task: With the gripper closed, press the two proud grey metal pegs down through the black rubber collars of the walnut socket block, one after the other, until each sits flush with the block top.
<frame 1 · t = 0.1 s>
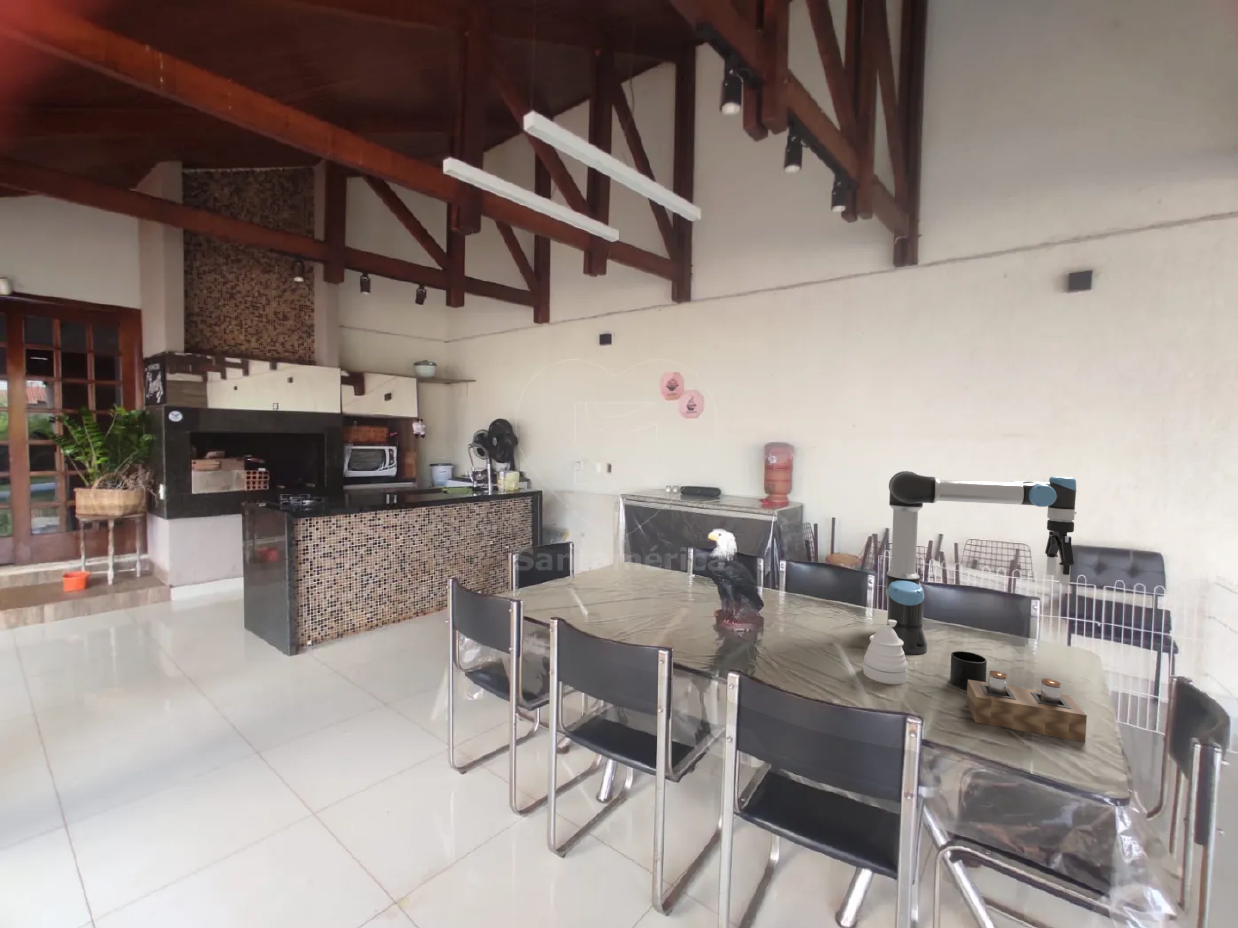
hand: (1057, 579, 196), 28 cm above the table, fingers open, 13 cm apart
mug: (965, 686, 172), on the table
socket block: (1021, 720, 151), on the table
peg b: (997, 685, 152), point 9 cm above the table, slide at 5.0 cm
peg a: (1050, 694, 148), point 9 cm above the table, slide at 5.0 cm
honey pot: (884, 675, 179), on the table
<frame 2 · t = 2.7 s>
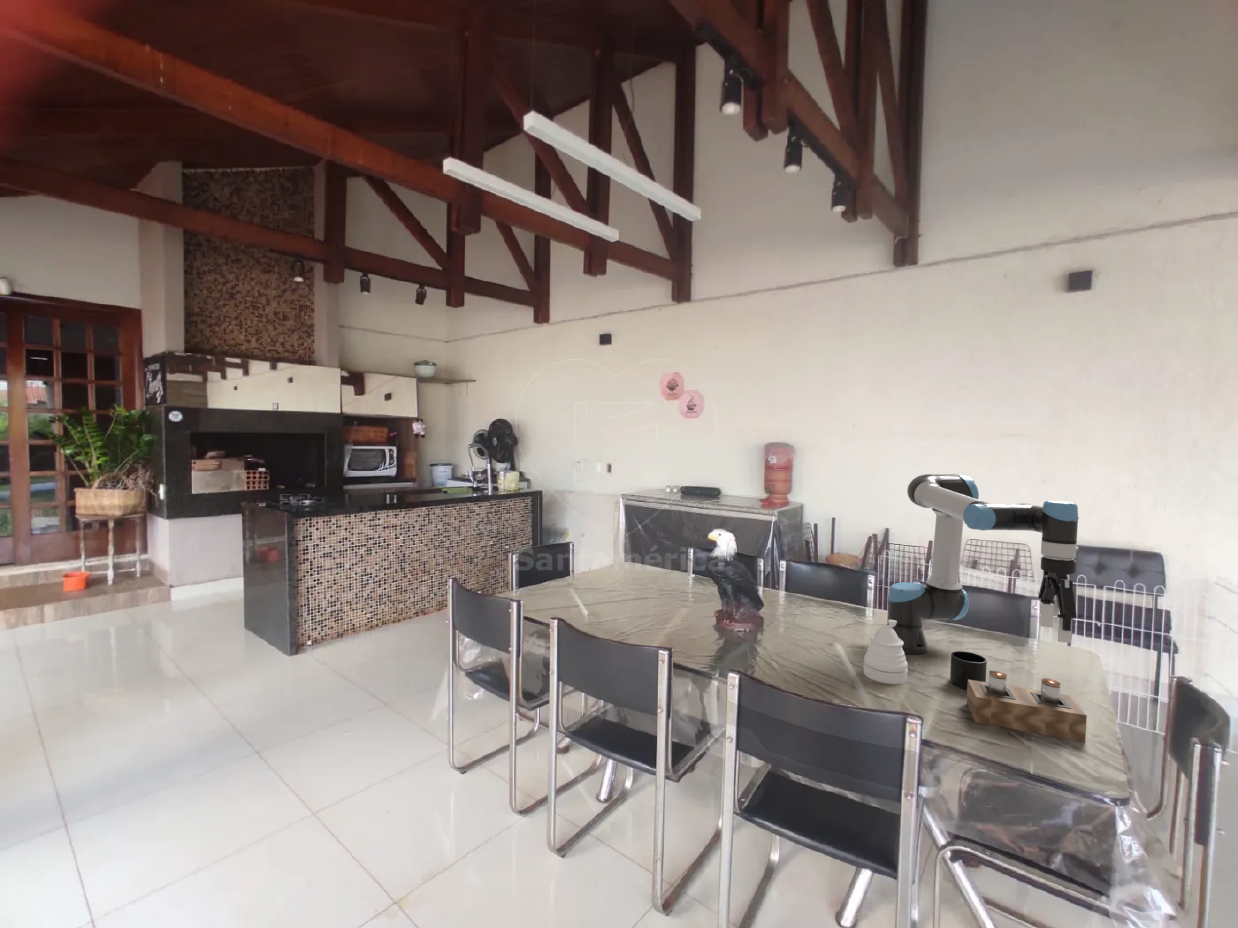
hand: (1055, 633, 151), 24 cm above the table, fingers open, 13 cm apart
nothing on the table moved.
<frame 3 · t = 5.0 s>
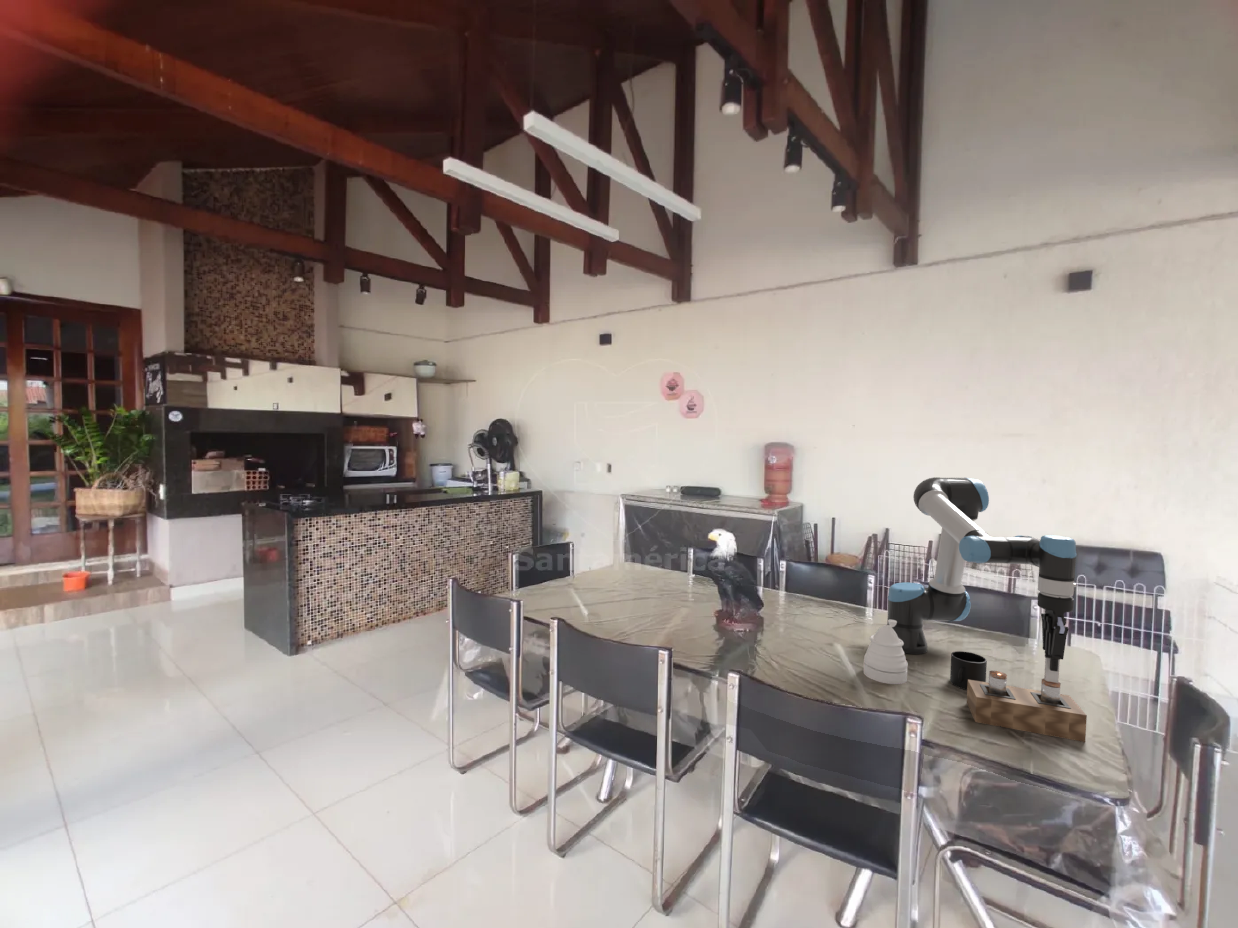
hand: (1051, 680, 148), 12 cm above the table, fingers closed
peg a: (1050, 694, 148), point 9 cm above the table, slide at 5.0 cm, touching gripper
everything else where it was.
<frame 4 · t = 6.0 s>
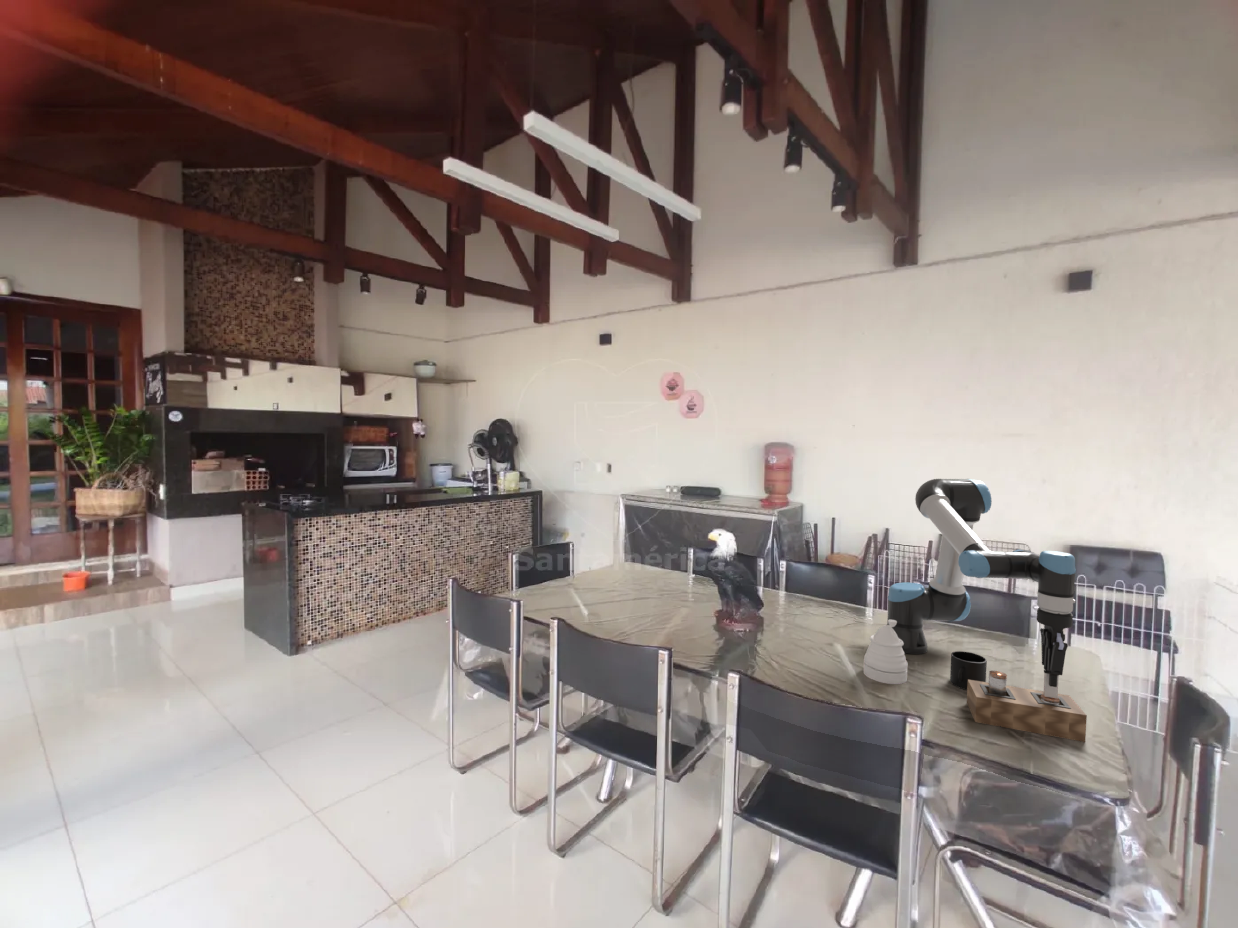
hand: (1050, 696, 148), 8 cm above the table, fingers closed
peg a: (1049, 709, 148), point 4 cm above the table, slide at 0.7 cm, touching gripper
everything else where it was.
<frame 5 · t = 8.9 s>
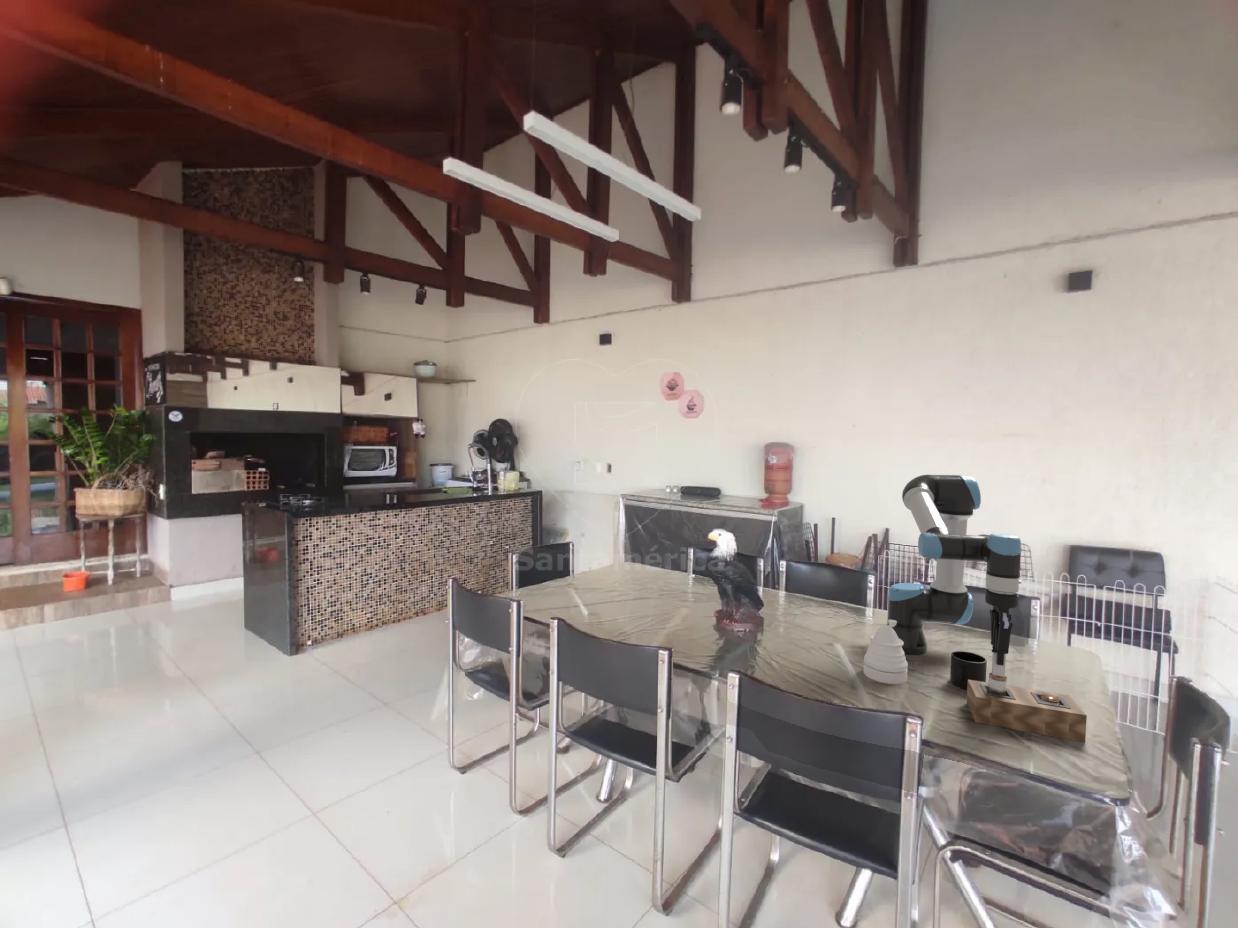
hand: (998, 674, 152), 12 cm above the table, fingers closed
peg b: (997, 687, 152), point 8 cm above the table, slide at 4.4 cm, touching gripper
peg a: (1049, 709, 148), point 4 cm above the table, slide at 0.7 cm
everything else where it was.
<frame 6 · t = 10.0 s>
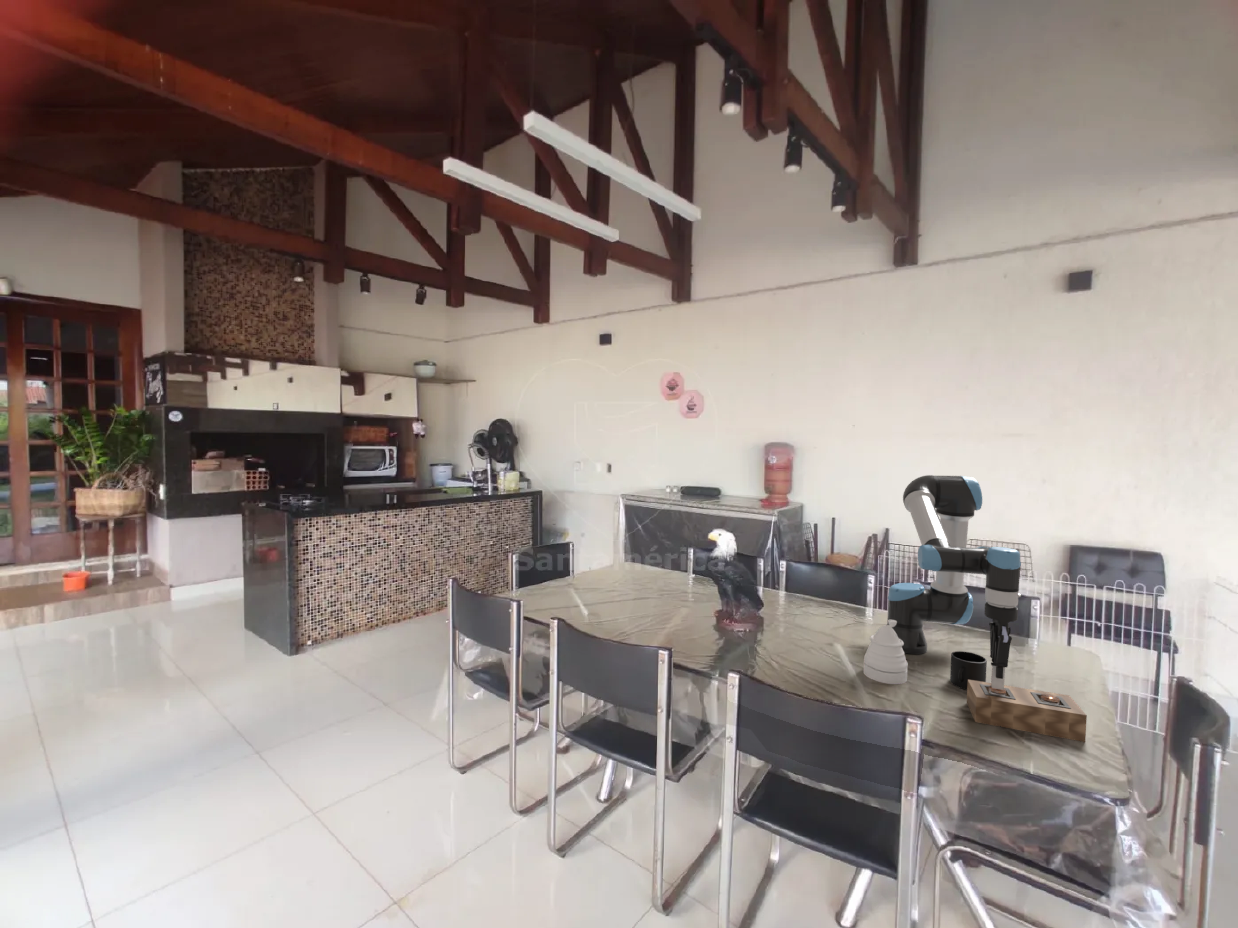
hand: (997, 687, 152), 8 cm above the table, fingers closed
peg b: (996, 700, 153), point 4 cm above the table, slide at 0.7 cm, touching gripper
everything else where it was.
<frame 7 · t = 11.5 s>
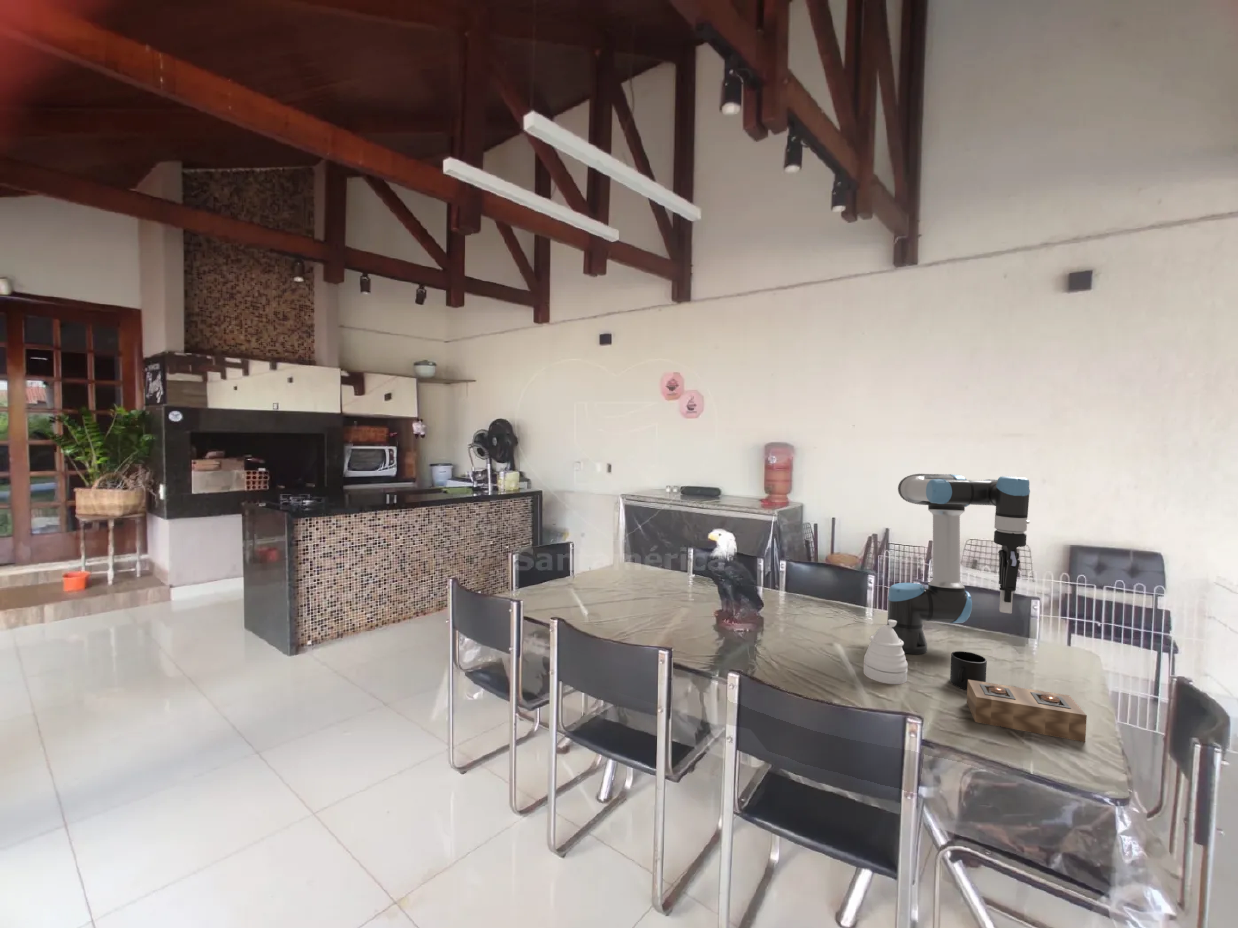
hand: (1005, 611, 158), 28 cm above the table, fingers closed
peg b: (996, 700, 153), point 4 cm above the table, slide at 0.7 cm
everything else where it was.
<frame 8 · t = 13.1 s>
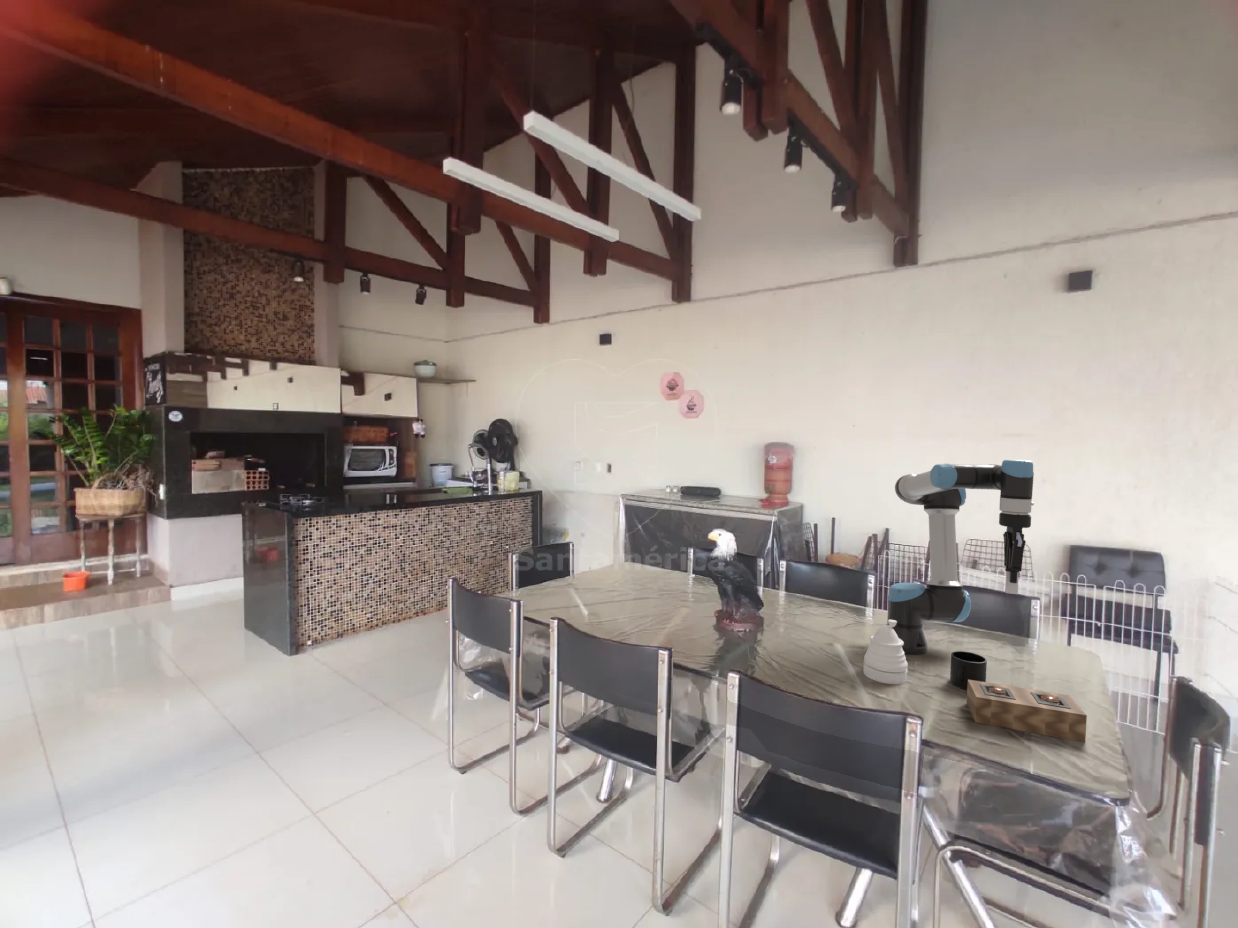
hand: (1011, 592, 161), 32 cm above the table, fingers closed
nothing on the table moved.
at the end: peg a slide at 0.7 cm; peg b slide at 0.7 cm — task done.
